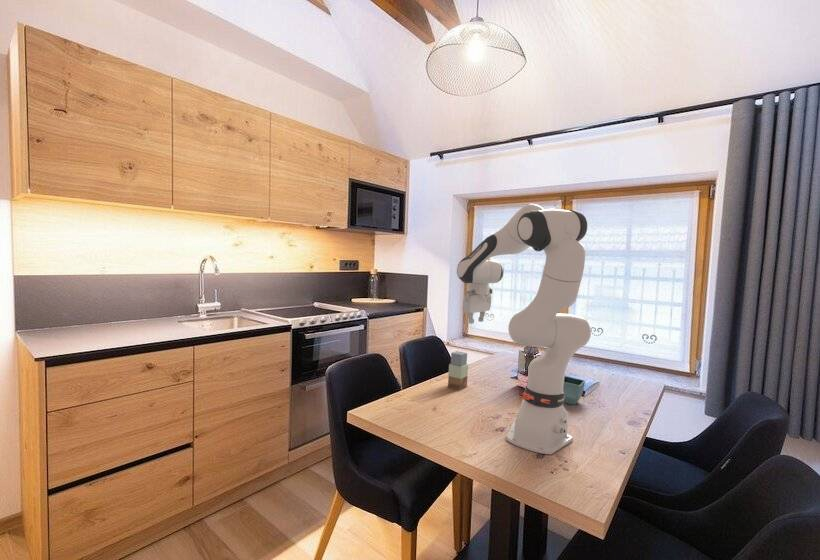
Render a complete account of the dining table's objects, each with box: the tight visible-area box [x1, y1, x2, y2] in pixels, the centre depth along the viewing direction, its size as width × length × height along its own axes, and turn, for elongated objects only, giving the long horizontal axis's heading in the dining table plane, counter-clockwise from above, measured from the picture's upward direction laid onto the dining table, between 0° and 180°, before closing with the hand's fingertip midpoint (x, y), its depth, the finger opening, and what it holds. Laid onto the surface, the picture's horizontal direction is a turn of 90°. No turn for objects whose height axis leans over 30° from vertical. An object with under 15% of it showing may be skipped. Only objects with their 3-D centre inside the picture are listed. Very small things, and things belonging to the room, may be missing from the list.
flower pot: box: [563, 375, 586, 406], centre depth 152 cm, size 9×9×9 cm
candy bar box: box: [516, 349, 543, 377], centre depth 166 cm, size 11×5×16 cm, turn 23°
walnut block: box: [447, 375, 468, 391], centre depth 163 cm, size 6×6×5 cm
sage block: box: [448, 363, 469, 379], centre depth 163 cm, size 6×6×5 cm
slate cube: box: [450, 350, 468, 367], centre depth 163 cm, size 5×5×5 cm
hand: (476, 322), depth 160 cm, fingers open, 8 cm apart
